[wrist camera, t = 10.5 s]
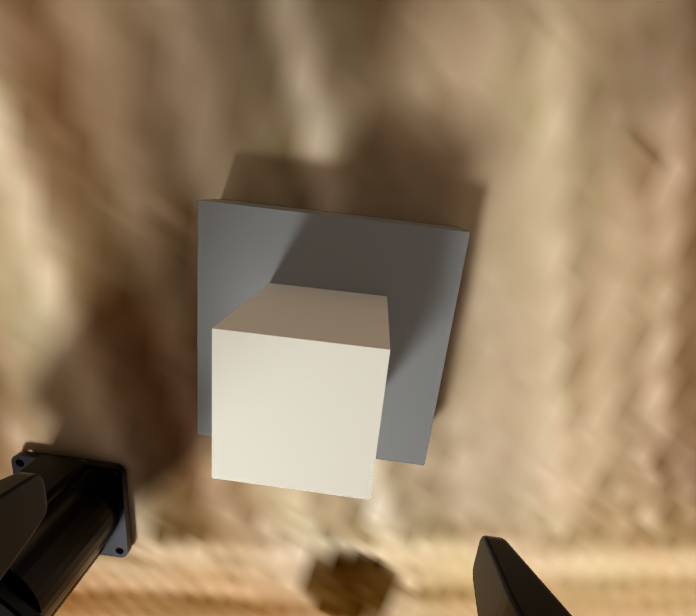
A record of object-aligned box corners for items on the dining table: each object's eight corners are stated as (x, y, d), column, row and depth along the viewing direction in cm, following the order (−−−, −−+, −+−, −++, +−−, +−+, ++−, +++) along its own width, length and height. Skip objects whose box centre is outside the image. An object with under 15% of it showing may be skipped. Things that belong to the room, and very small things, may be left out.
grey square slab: (417, 429, 22) (424, 465, 19) (220, 402, 22) (197, 434, 19) (455, 225, 19) (470, 232, 16) (224, 198, 19) (197, 200, 16)
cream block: (373, 402, 18) (370, 499, 12) (265, 389, 18) (211, 478, 13) (387, 296, 17) (390, 349, 11) (269, 283, 17) (212, 328, 11)
